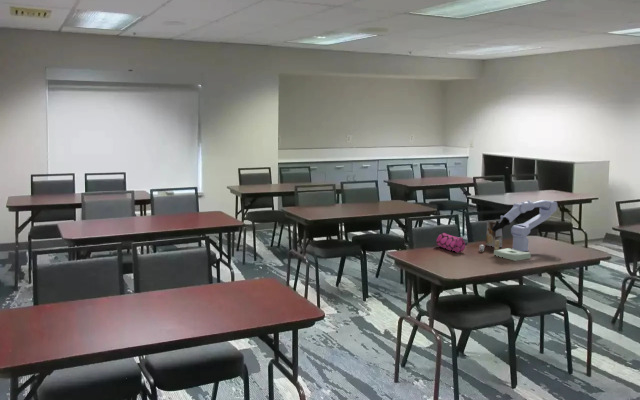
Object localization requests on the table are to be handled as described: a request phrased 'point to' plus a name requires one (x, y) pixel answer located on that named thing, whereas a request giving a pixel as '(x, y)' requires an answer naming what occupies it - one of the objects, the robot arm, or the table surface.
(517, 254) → the board
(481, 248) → the short pin
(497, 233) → the coffee box
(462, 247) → the pink foam roller
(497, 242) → the long pin
